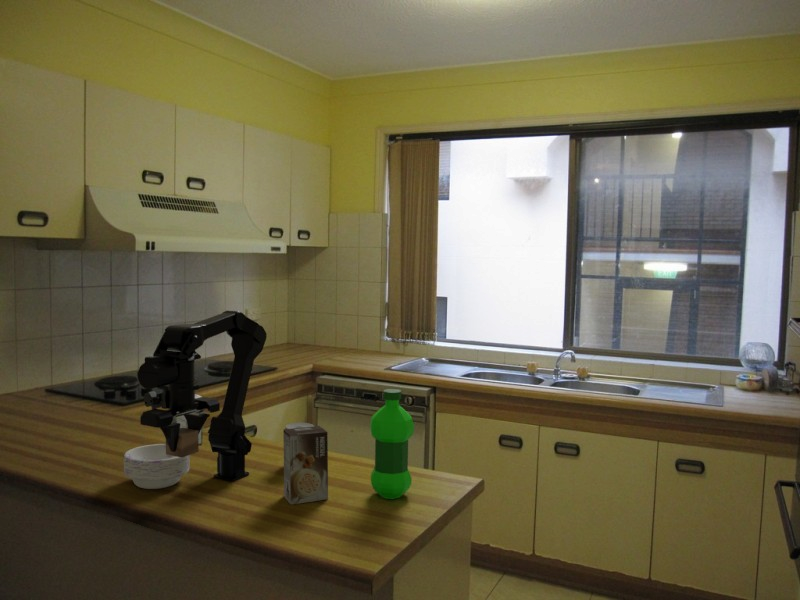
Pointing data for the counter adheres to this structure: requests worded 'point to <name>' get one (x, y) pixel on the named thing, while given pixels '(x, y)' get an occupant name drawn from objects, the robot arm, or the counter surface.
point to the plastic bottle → (391, 447)
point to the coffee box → (305, 464)
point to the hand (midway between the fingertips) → (182, 448)
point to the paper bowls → (154, 466)
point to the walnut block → (185, 443)
